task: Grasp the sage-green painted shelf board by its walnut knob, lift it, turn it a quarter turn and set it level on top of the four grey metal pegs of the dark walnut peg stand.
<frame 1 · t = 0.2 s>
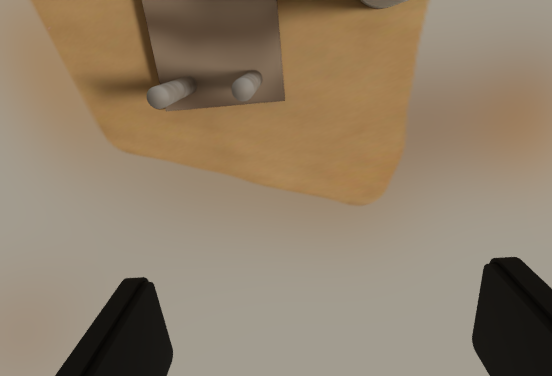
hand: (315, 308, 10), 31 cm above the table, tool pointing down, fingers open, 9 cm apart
peg stand: (215, 24, 35), on the table
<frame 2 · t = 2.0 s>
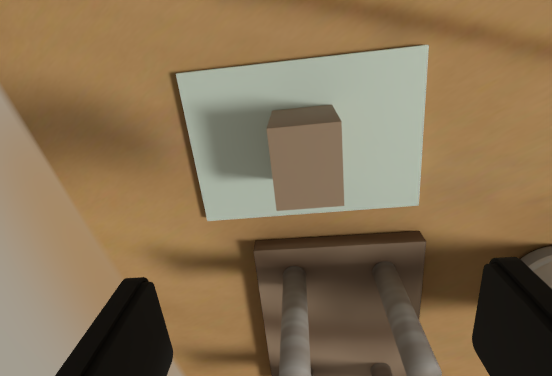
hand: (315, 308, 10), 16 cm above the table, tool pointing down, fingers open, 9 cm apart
shelf board: (304, 139, 25), on the table
travel mug: (545, 274, 28), on the table
peg stand: (338, 312, 31), on the table
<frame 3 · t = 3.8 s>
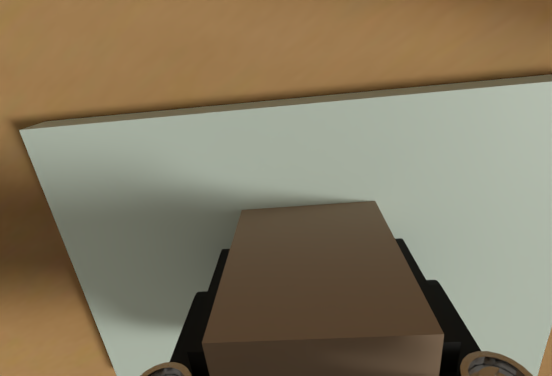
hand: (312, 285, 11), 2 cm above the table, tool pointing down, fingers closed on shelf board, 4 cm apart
shelf board: (310, 252, 12), on the table, touching gripper
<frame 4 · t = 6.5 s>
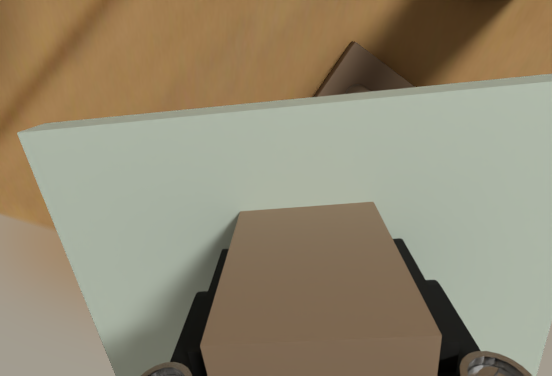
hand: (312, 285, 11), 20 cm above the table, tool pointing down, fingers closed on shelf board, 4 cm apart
shelf board: (309, 253, 12), point 18 cm above the table, touching gripper
peg stand: (377, 162, 30), on the table
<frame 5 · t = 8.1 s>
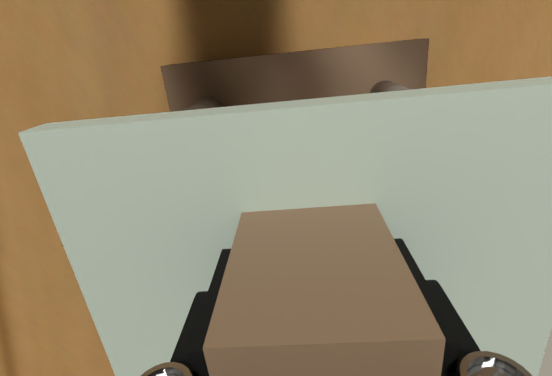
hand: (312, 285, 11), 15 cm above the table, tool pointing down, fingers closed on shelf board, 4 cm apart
shelf board: (310, 254, 12), point 13 cm above the table, touching gripper
peg stand: (298, 150, 24), on the table
when the fingers open (13 cm above the table, at t = 9.4 s): shelf board stays where it is, resting on peg stand.
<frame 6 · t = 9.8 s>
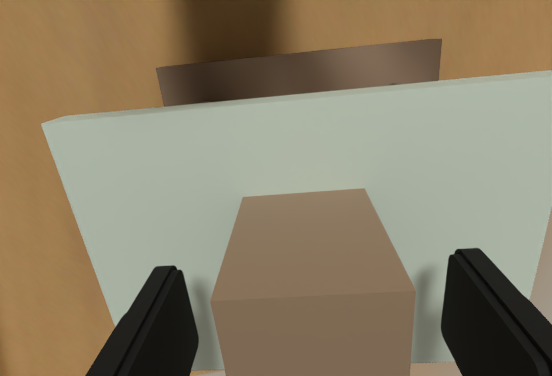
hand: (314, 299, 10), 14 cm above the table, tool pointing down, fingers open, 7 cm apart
shelf board: (306, 238, 13), point 10 cm above the table, touching peg stand
peg stand: (301, 156, 23), on the table
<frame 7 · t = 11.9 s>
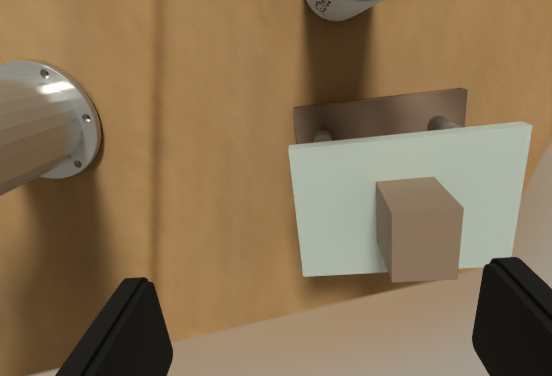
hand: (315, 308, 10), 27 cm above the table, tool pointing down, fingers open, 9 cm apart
shelf board: (399, 203, 26), point 10 cm above the table, touching peg stand
peg stand: (375, 160, 36), on the table
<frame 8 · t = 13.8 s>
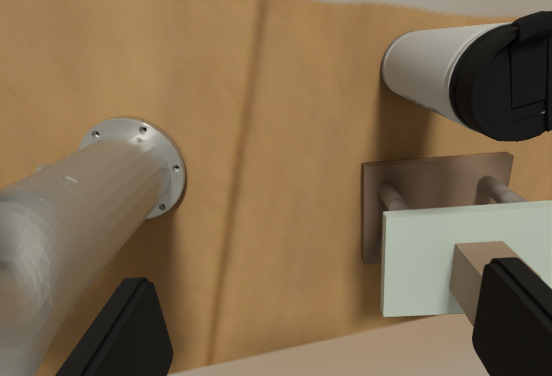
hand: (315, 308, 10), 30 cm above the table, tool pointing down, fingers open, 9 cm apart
shelf board: (468, 258, 32), point 10 cm above the table, touching peg stand
travel mug: (410, 62, 35), on the table
peg stand: (428, 208, 42), on the table
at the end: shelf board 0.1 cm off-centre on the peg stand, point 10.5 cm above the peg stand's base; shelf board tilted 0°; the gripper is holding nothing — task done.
